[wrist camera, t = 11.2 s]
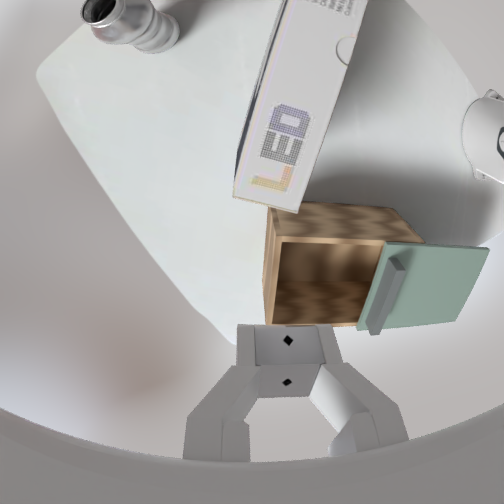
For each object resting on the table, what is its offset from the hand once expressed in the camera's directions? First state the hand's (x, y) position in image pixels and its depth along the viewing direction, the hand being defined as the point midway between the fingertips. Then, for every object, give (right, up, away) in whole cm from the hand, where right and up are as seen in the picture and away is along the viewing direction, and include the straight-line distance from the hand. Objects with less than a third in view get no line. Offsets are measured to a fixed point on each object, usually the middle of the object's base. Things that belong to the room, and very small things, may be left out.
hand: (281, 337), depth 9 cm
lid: (+27, -3, +32) cm, 42 cm away
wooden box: (+12, +4, +42) cm, 44 cm away
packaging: (+4, +30, +26) cm, 40 cm away
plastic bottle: (-14, +34, +23) cm, 43 cm away
